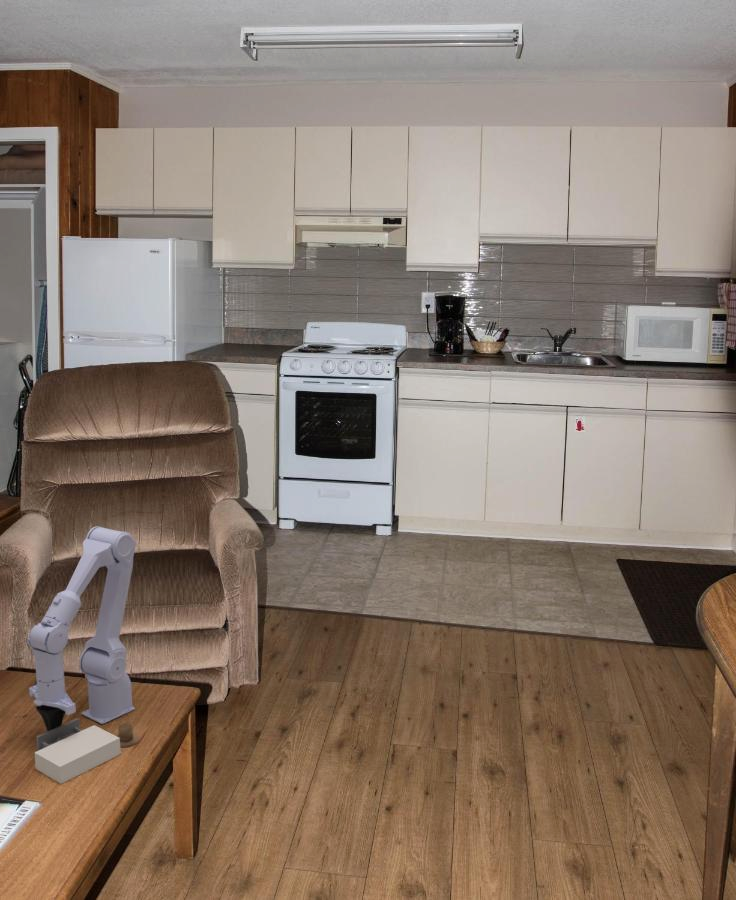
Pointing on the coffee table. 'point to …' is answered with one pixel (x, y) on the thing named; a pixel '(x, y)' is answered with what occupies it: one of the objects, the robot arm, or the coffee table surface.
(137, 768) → the coffee table surface
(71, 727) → the tray
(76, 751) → the player
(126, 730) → the stand
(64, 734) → the disc
